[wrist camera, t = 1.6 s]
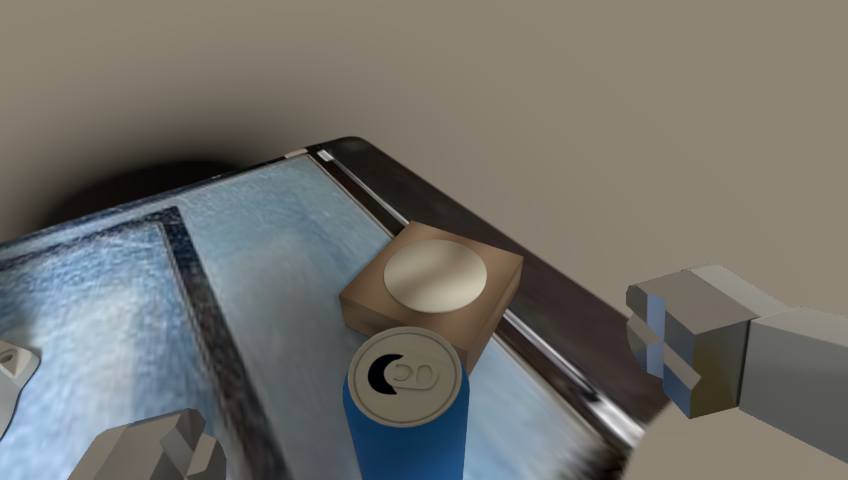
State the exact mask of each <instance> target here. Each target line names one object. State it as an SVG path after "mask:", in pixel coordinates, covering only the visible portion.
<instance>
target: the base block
mask: <svg viewBox="0 0 848 480" xmlns="http://www.w3.org/2000/svg"><path fill="white" fill-rule="evenodd" d="M522 262H523V257H522V256H519V255H516V254H513V253H510V252H507V251H504V250H501V249H498V248H495V247H492V246H489V245H486V244H482V243H479V242H476V241H473V240H470V239H467V238H464V237H461V236H458V235H455V234H452V233H449V232H446V231H443V230H439V229H436V228H433V227H430V226H427V225H424V224H421V223H418V222H415V221H411V222H410V223H409V224H408V225H407V226H406V227H405V228H404V229H403V230H402V231H401V232H400V233H399V234H398V235H397V236H396V237H395V238H394V239H393V240H392V241H391V242H390V243H389V244H388V245H387V246H386V247H385V249H384V250H383V251H382V252H381V253H380V254H379V255H378V256H377V257H376V258H375V259H374V260H373V261H372V262H371V263H370V264H369V265H368V266H367V267H366V268H365V269H364V270H363V271H362V272H361V273H360V274H359V275H358V276H357V277H356V278H355V279H354V280H353V281H352V282H351V283H350V284H349V285H348V286H347V287H346V288H345V289H344V290H343V291H342V292H341V293H340V294H339V297H340V302H341V307H342V312H343V316H344V321H345V326H347V327H349V328H352V329H354V330H356V331H358V332H360V333H362V334H364V335H366V336H368V337H373V336H374V335H376V334H378V333H380V332H383V331H385V330H388V329H392V328H397V327H419V328H423V329H427V330H430V331H432V332H434V333H436V334H438V335H440V336H441V337H443V338H444V339H445V340H446V341H448V342H449V343H450V344H451V346H452V347H453V348H454V350H455V351H456V353H457V355H458V357H459V359H460V360H461V362H462V364H463V366H464V368H465V370H466V373H467V376H468V377H469V376H470V374H471V372H472V370H473V368H474V367H475V365H476V363H477V361H478V359H479V358H480V356H481V354H482V352H483V350H484V349H485V347H486V345H487V343H488V341H489V340H490V338H491V336H492V334H493V332H494V331H495V329H496V327H497V325H498V323H499V322H500V320H501V318H502V316H503V314H504V313H505V311H506V309H507V307H508V305H509V304H510V302H511V300H512V298H513V296H514V295H515V293H516V291H517V289H518V287H519V281H520V275H521V269H522Z"/></svg>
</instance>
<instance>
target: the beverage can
mask: <svg viewBox="0 0 848 480" xmlns="http://www.w3.org/2000/svg"><path fill="white" fill-rule="evenodd" d="M469 393H470V389H469V380H468V376H467V373H466V370H465V368H464V366H463V364H462V362H461V360H460V359H459V357H458V355H457V353H456V351H455V350H454V348H453V347H452V346H451V344H450V343H449V342H448V341H446V340H445V339H444V338H443V337H441V336H440V335H438V334H436V333H434V332H432V331H430V330H427V329H423V328H419V327H397V328H392V329H388V330H385V331H383V332H380V333H378V334H376V335H374V336H373V337H371V338H370V339H368V340H367V341H366V342H365V343H364V344H363V345H362V346H361V347H360V348H359V349H358V350H357V352H356V353H355V355H354V357H353V359H352V361H351V363H350V366H349V370H348V372H347V375H346V378H345V382H344V386H343V404H344V408H345V412H346V416H347V420H348V424H349V427H350V431H351V435H352V439H353V443H354V447H355V450H356V454H357V458H358V462H359V466H360V469H361V473H362V477H363V480H463V468H464V455H465V443H466V430H467V418H468V405H469Z"/></svg>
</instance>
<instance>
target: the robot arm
mask: <svg viewBox="0 0 848 480" xmlns="http://www.w3.org/2000/svg"><path fill="white" fill-rule="evenodd" d="M626 305H627V306H628V307H629V308H630V309H631V310H632V311H633V312H634V313H633V315H632V316H631V318H630V319H629V321H628V322H627V337H628V341H629V343H630V346H631V349H632V352H633V354H634V355H635V357H636V359H637V360H638V362H639V363H640V364H641V365H642V367H643V368H644V369H645V370H646V371H647V372H648V373H651V374H653V375H655V376H658V377H660V378H663V391H664V392H665V393H666V394H667V395H668V396H669V397H670V398H671V400H672V401H673V402H674V403H675V404H676V405H677V406H678V407H679V409H680V410H681V411H682V412H683V413H684V414H685V415H686V416H687V417H688V419H693V418H697V417H700V416H704V415H708V414H712V413H716V412H720V411H724V410H728V409H731V408H735V407H739V410H741V411H743V412H745V413H747V414H749V415H751V416H753V417H755V418H757V419H759V420H761V421H763V422H765V423H767V424H769V425H771V426H773V427H775V428H777V429H779V430H781V431H783V432H785V433H787V434H789V435H791V436H793V437H795V438H797V439H799V440H801V441H803V442H805V443H807V444H809V445H811V446H813V447H815V448H817V449H819V450H821V451H823V452H825V453H827V454H829V455H831V456H833V457H835V458H837V459H839V460H841V461H843V462H845V463H847V464H848V317H845V316H840V315H836V314H831V313H827V312H823V311H818V310H813V309H809V308H805V307H797V308H793V309H790V308H789V307H787V306H785V305H784V304H782V303H780V302H779V301H777V300H775V299H774V298H772V297H770V296H769V295H767V294H766V293H764V292H762V291H761V290H759V289H757V288H756V287H754V286H752V285H751V284H749V283H747V282H746V281H744V280H743V279H741V278H739V277H737V276H736V275H734V274H732V273H731V272H729V271H728V270H726V269H724V268H723V267H721V266H719V265H718V264H714V263H710V262H706V263H703V264H700V265H696V266H693V267H690V268H687V269H683V270H681V271H680V272H676V273H672V274H669V275H665V276H662V277H658V278H655V279H651V280H648V281H644V282H641V283H637V284H634V285H630V286H629V287H628V290H627V292H626ZM38 364H39V358H38V356H36V355H35V354H33V353H32V352H31V351H29V350H27V349H24V348H21V347H18V346H15V345H13V344H10V343H7V342H4V341H1V340H0V438H1V436H2V435H3V433H4V431H5V429H6V427H7V426H8V424H9V421H10V419H11V417H12V414H13V411H14V407H15V404H16V400H17V397H18V394H19V392H20V390H21V388H22V387H23V386H24V384H25V383H26V382H27V381H28V379H29V378H30V377H31V375H32V374H33V372H34V371H35V369H36V368H37V366H38ZM205 424H206V422H205V420H204V419H203V417H202V416H201V415H200V413H199V412H198V410H197V409H190V408H187V409H183V410H179V411H175V412H172V413H168V414H164V415H160V416H156V417H152V418H148V419H144V420H140V421H136V422H134V423H130V424H126V425H122V426H118V427H115V428H111V429H107V430H105V431H104V432H102V433H101V434H99V435H97V436H96V438H95V439H94V441H93V442H92V444H91V445H90V447H89V448H88V450H87V451H86V452H85V454H84V455H83V457H82V458H81V460H80V461H79V463H78V464H77V466H76V467H75V469H74V470H73V472H72V473H71V475H70V476H69V478H68V479H67V480H226V458H225V455H224V451H223V448H222V446H221V445H220V443H219V442H218V440H217V439H216V438H214V437H211V436H209V435H207V434H205V433H203V431H204V427H205Z"/></svg>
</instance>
